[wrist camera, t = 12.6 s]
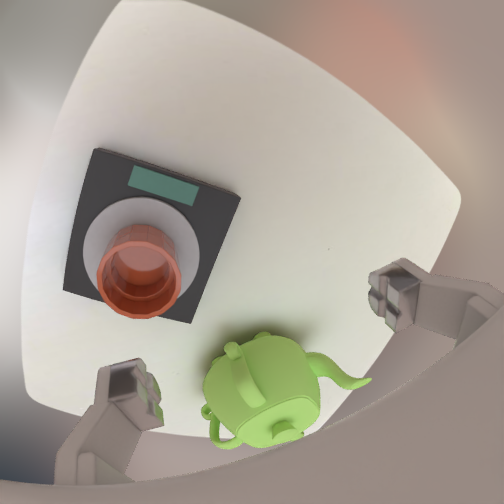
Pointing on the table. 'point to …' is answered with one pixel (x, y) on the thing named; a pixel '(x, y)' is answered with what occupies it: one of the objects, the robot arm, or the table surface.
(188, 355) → the table surface
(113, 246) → the orange cup
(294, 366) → the teapot
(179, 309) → the scale
